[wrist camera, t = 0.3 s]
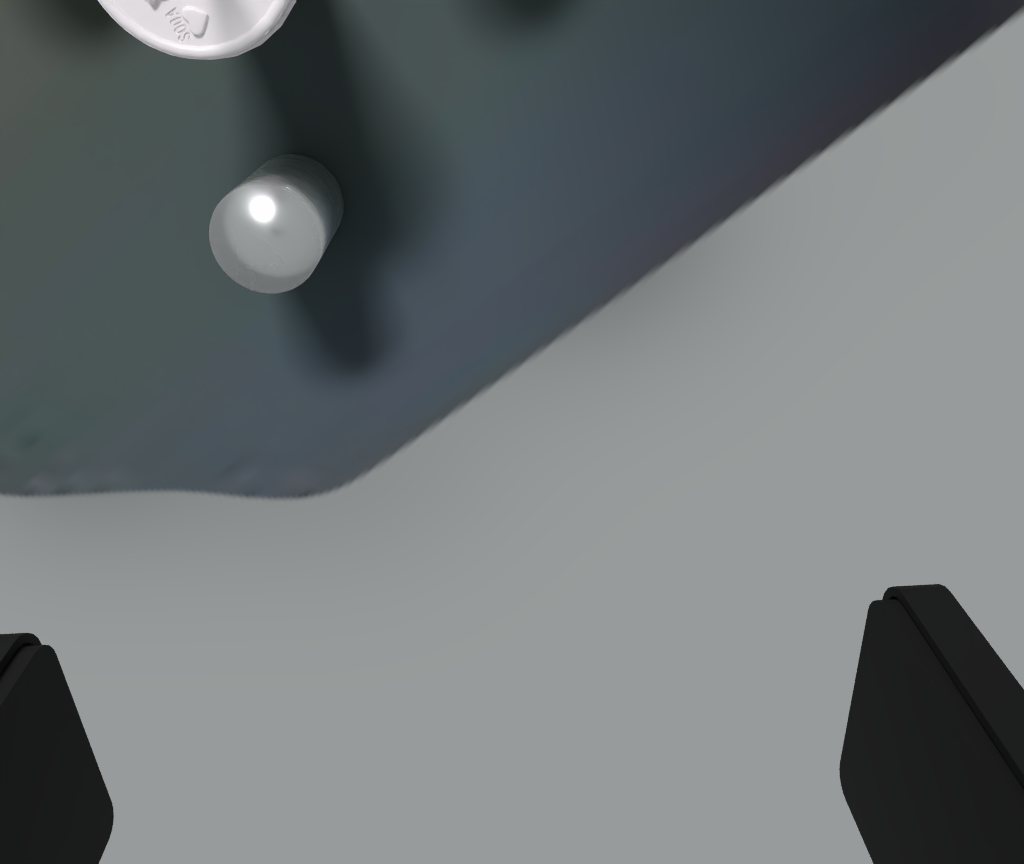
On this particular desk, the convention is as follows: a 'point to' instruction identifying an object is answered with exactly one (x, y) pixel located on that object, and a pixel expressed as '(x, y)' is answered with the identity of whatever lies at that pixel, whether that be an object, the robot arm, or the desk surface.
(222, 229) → the set of grey cylinders
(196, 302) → the desk surface
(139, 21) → the smoothie
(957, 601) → the robot arm
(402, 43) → the desk surface
